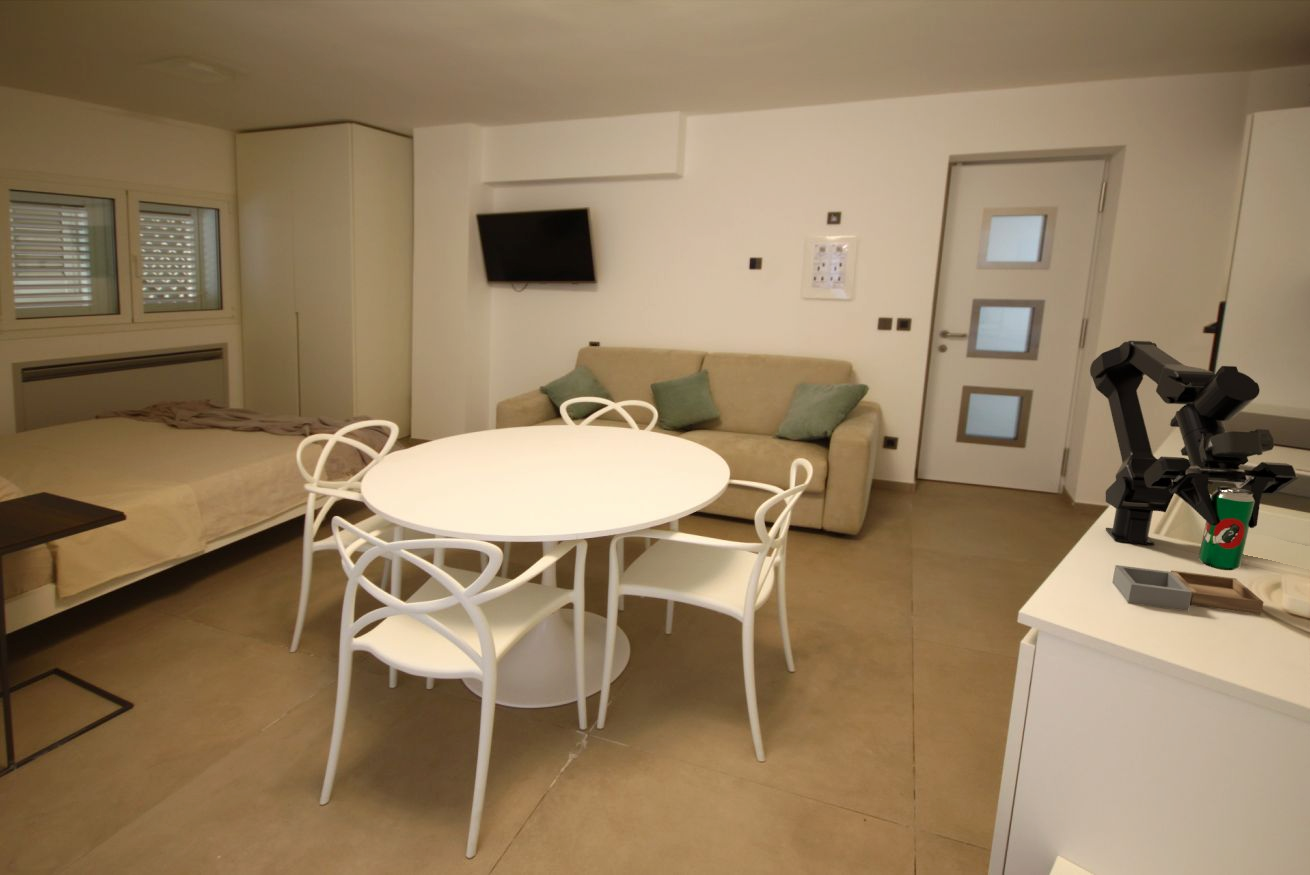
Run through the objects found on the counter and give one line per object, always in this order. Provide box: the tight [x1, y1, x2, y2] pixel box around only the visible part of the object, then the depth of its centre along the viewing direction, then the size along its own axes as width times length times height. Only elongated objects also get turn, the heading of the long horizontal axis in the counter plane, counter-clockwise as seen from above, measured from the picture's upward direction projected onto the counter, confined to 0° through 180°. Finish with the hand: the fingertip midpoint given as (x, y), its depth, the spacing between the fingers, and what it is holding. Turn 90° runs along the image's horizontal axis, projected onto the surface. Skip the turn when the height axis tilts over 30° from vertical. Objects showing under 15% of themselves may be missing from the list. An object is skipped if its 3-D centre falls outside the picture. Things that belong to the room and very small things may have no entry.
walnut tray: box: [1170, 570, 1265, 615], centre depth 110 cm, size 9×9×2 cm
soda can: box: [1198, 485, 1255, 571], centre depth 108 cm, size 5×5×12 cm
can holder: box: [1111, 564, 1192, 612], centre depth 110 cm, size 8×8×3 cm
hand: (1233, 525), depth 106 cm, fingers closed on soda can, 5 cm apart
